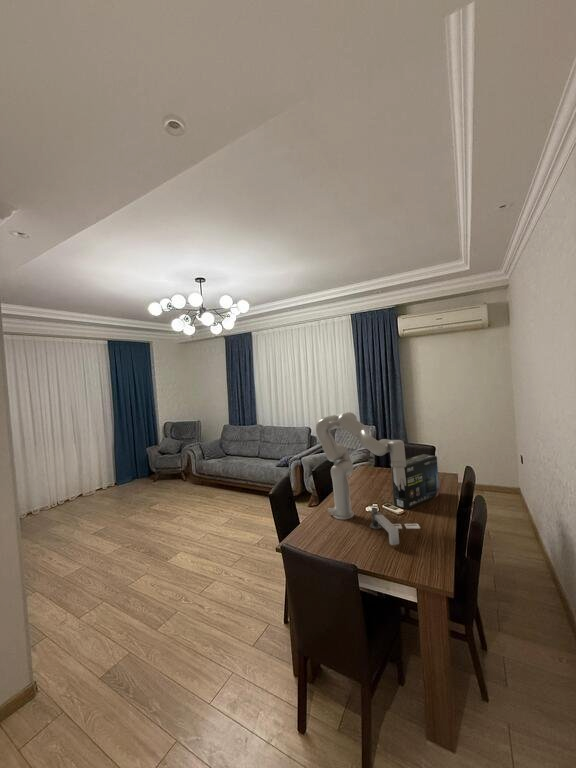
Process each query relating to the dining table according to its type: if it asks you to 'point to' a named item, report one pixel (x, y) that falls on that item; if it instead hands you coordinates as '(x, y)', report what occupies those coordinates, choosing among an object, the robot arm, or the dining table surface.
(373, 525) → the post
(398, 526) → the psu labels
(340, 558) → the dining table surface
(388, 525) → the cable arm
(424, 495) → the router box
